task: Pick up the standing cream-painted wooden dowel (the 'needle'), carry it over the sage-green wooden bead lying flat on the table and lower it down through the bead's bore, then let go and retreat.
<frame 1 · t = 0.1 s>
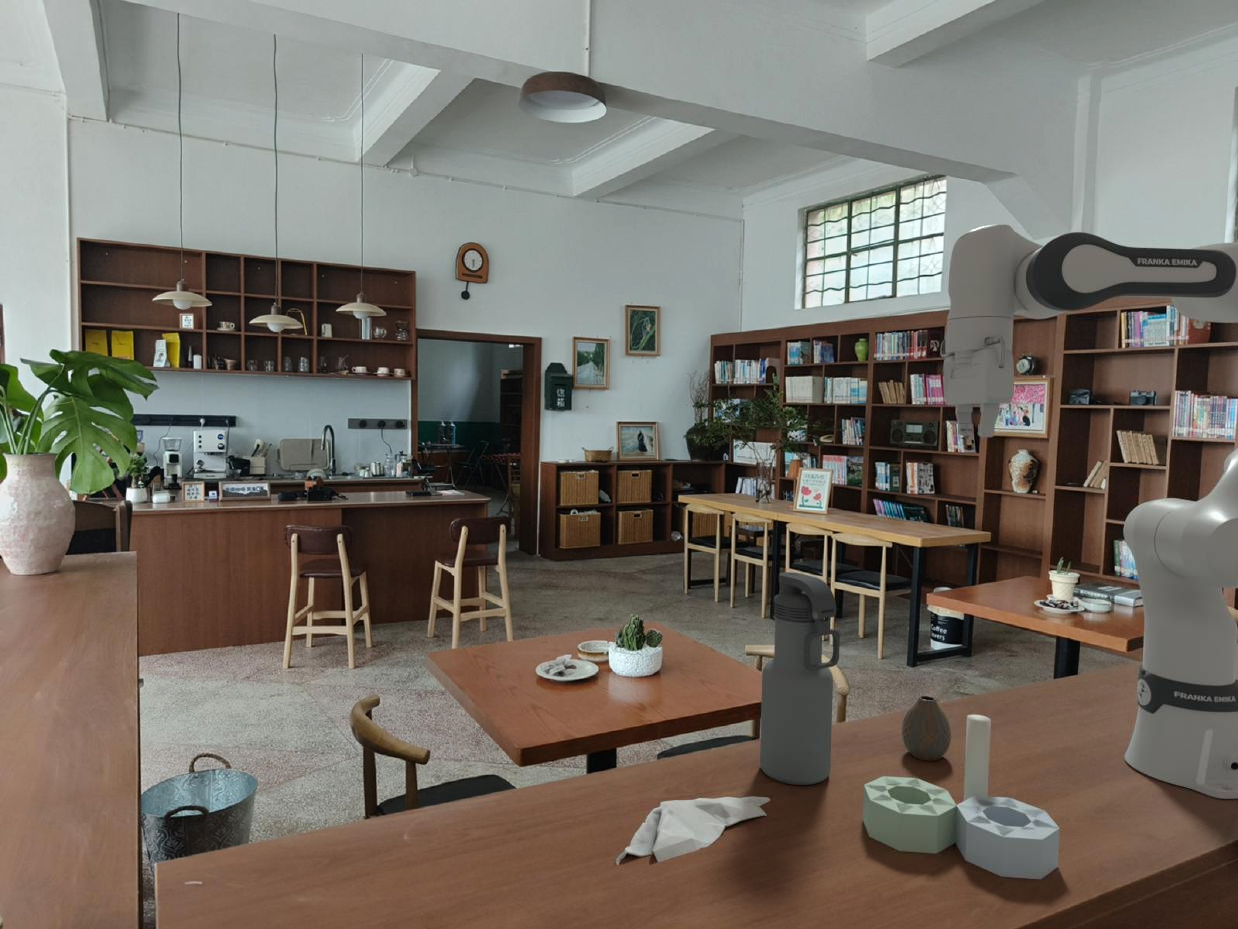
hand: (975, 436, 120), 48 cm above the table, tool pointing down, fingers open, 8 cm apart
cloth: (694, 831, 102), on the table
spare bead: (1005, 854, 96), on the table
bead: (907, 831, 101), on the table
vase: (925, 756, 124), on the table
dowel: (975, 809, 107), on the table
water bottle: (795, 774, 117), on the table
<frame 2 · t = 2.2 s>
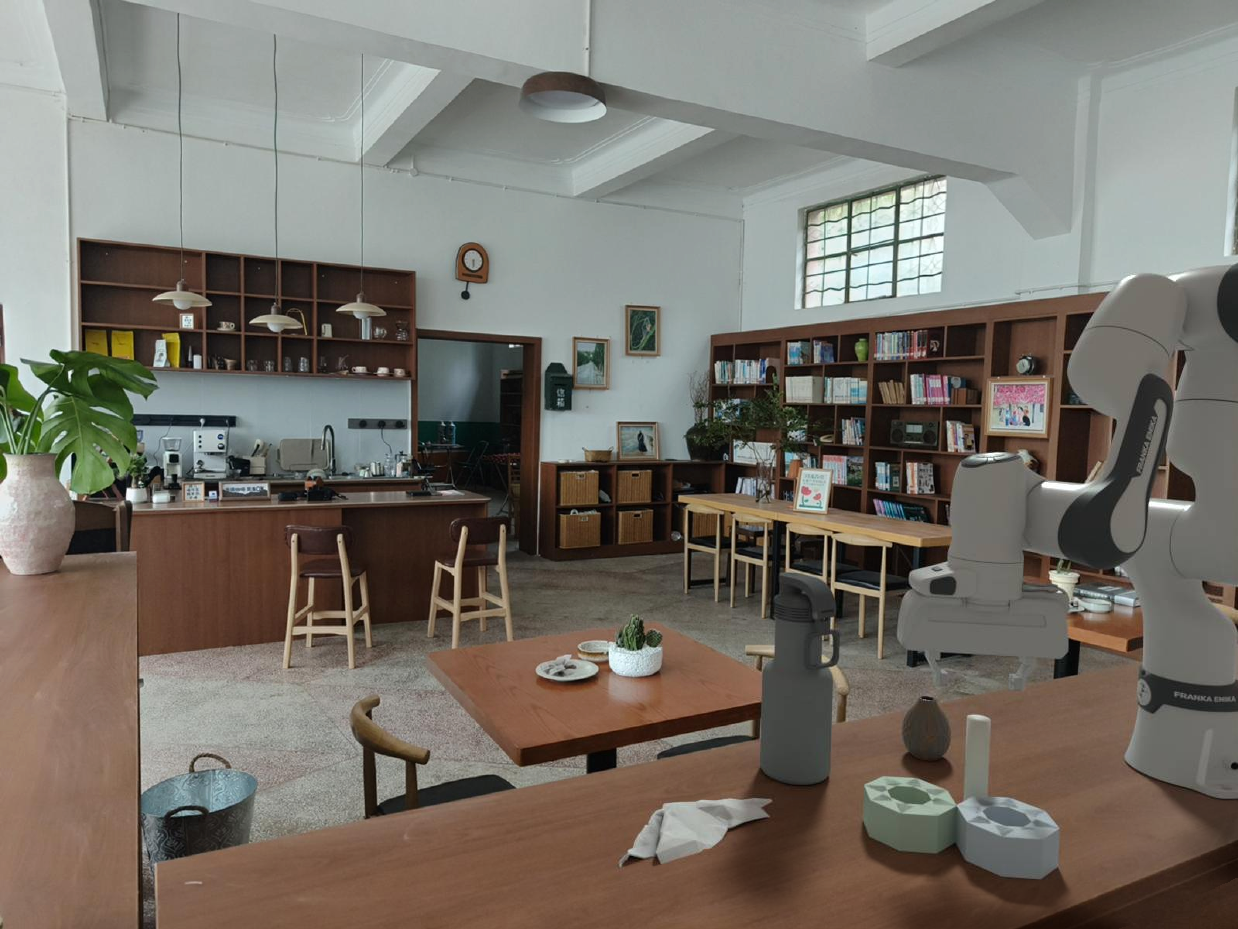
hand: (978, 687, 106), 16 cm above the table, tool pointing down, fingers open, 8 cm apart
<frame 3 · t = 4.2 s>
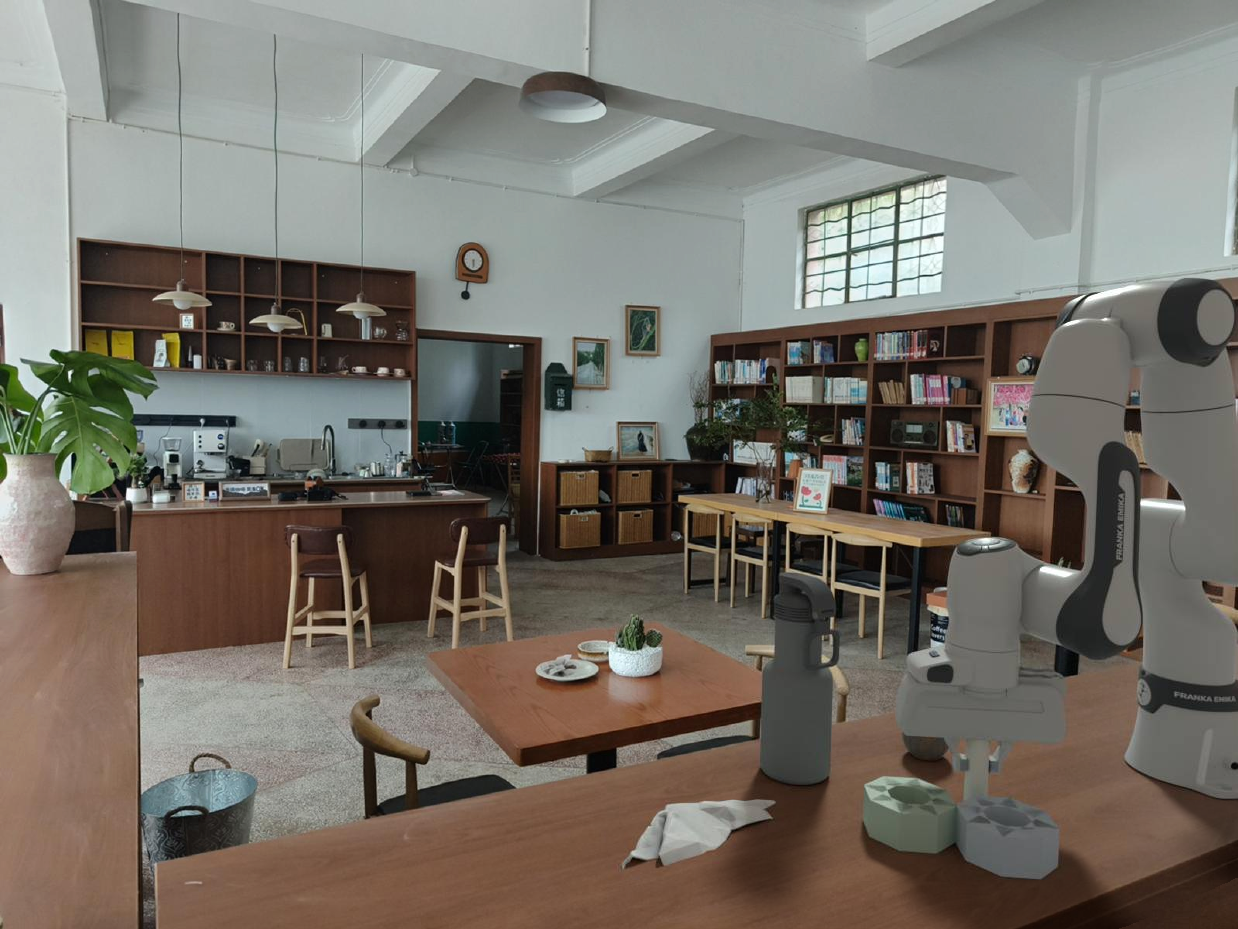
hand: (976, 771, 106), 5 cm above the table, tool pointing down, fingers closed on dowel, 3 cm apart
dowel: (975, 809, 107), on the table, touching gripper
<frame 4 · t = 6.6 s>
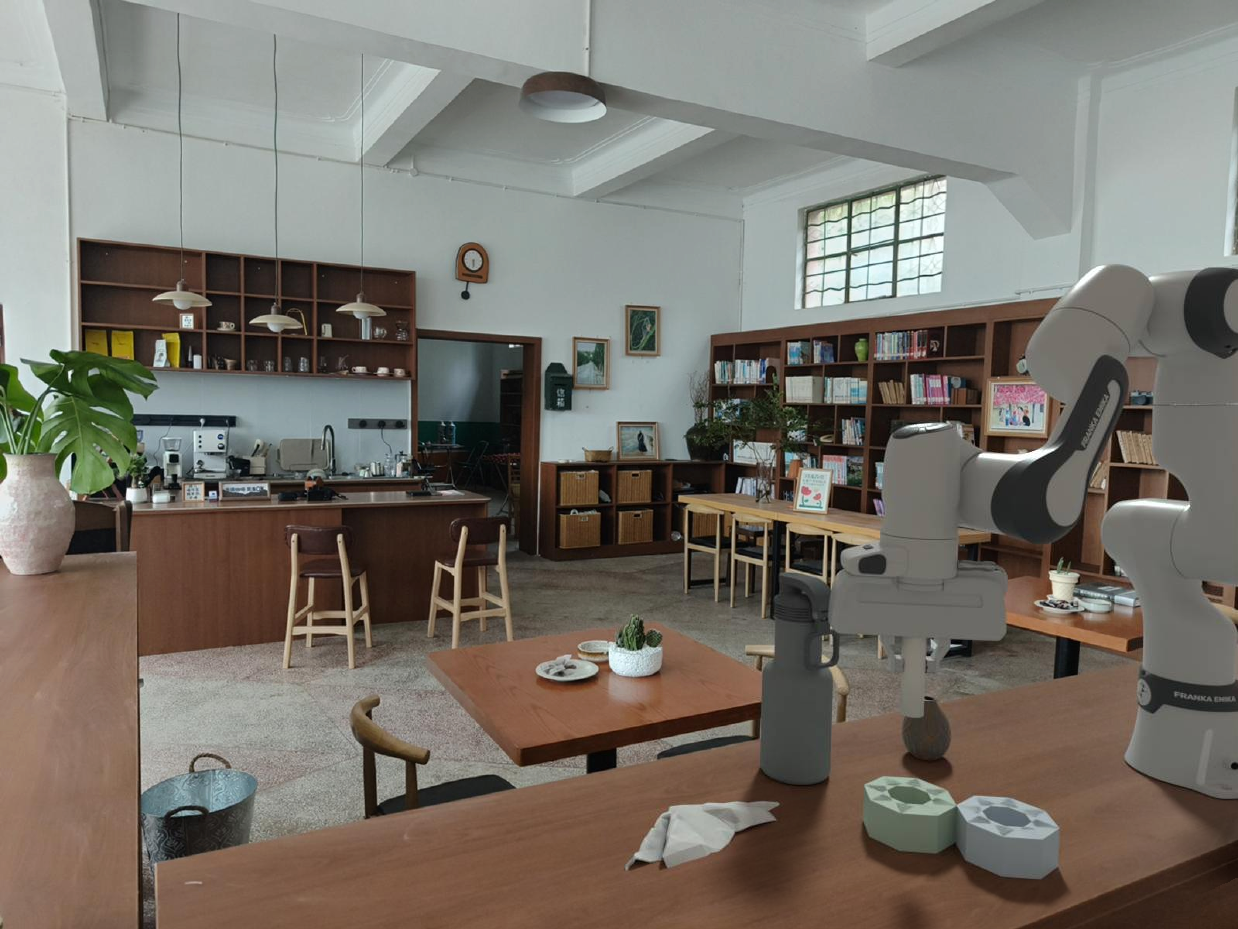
hand: (912, 672, 100), 20 cm above the table, tool pointing down, fingers closed on dowel, 3 cm apart
dowel: (911, 713, 100), point 15 cm above the table, touching gripper
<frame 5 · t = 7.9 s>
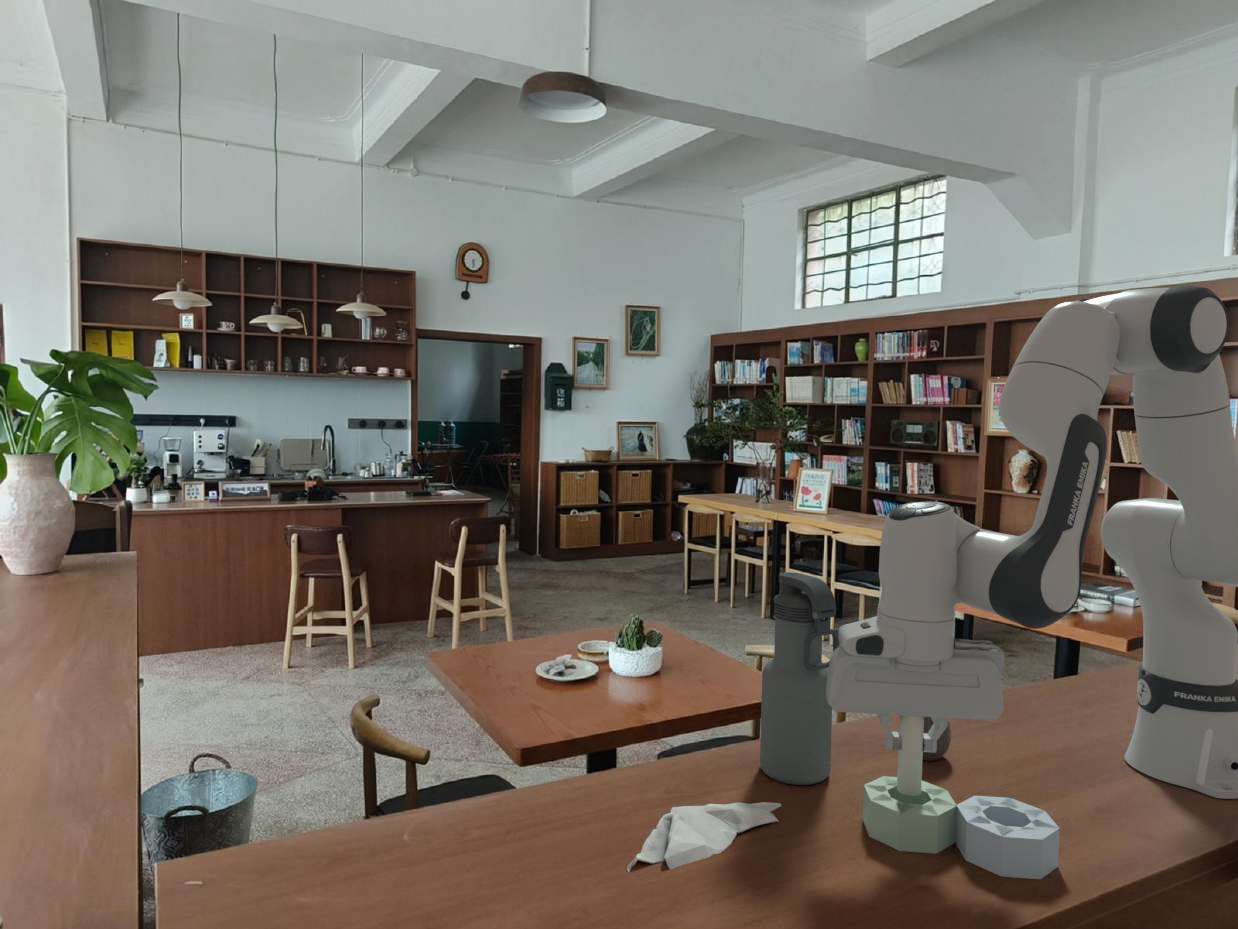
hand: (910, 749, 100), 10 cm above the table, tool pointing down, fingers closed on dowel, 3 cm apart
dowel: (908, 790, 101), point 5 cm above the table, touching gripper
when the fingers open (6 cm above the table, at t = 8.9 s): dowel drops 1 cm, resting in bead.
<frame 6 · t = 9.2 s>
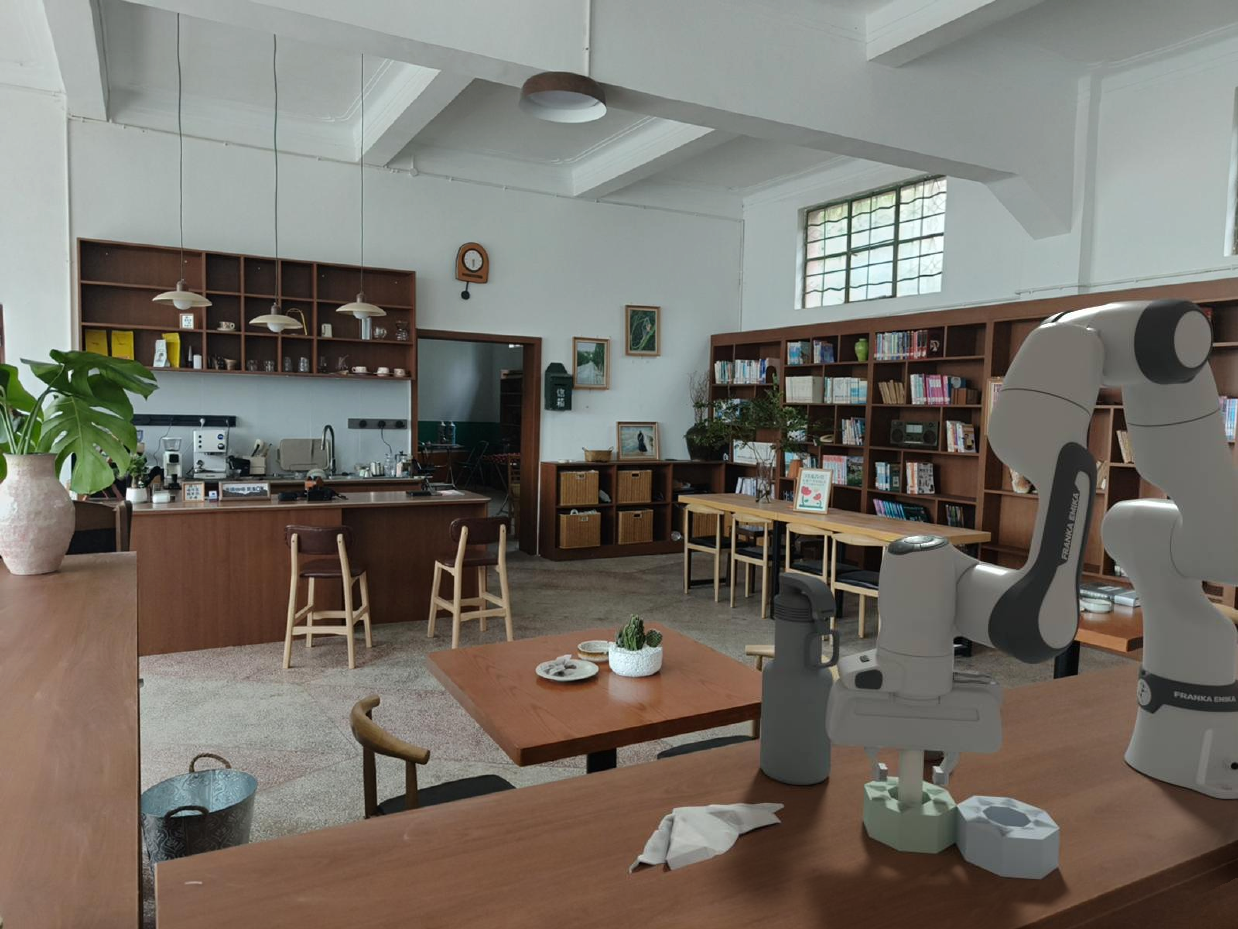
hand: (909, 782, 101), 6 cm above the table, tool pointing down, fingers open, 6 cm apart
dowel: (908, 831, 101), resting in bead
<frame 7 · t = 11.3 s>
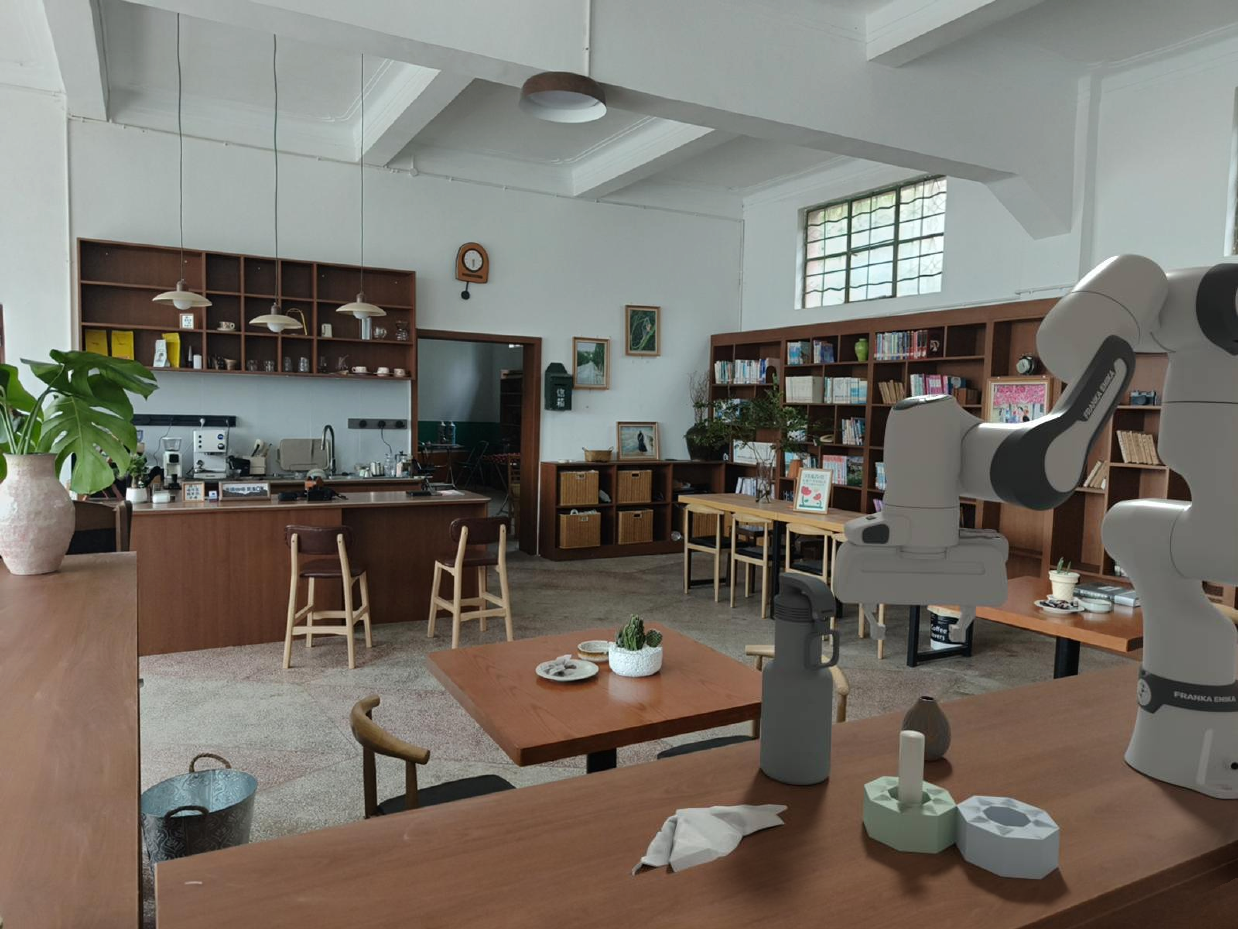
hand: (917, 639, 101), 23 cm above the table, tool pointing down, fingers open, 8 cm apart
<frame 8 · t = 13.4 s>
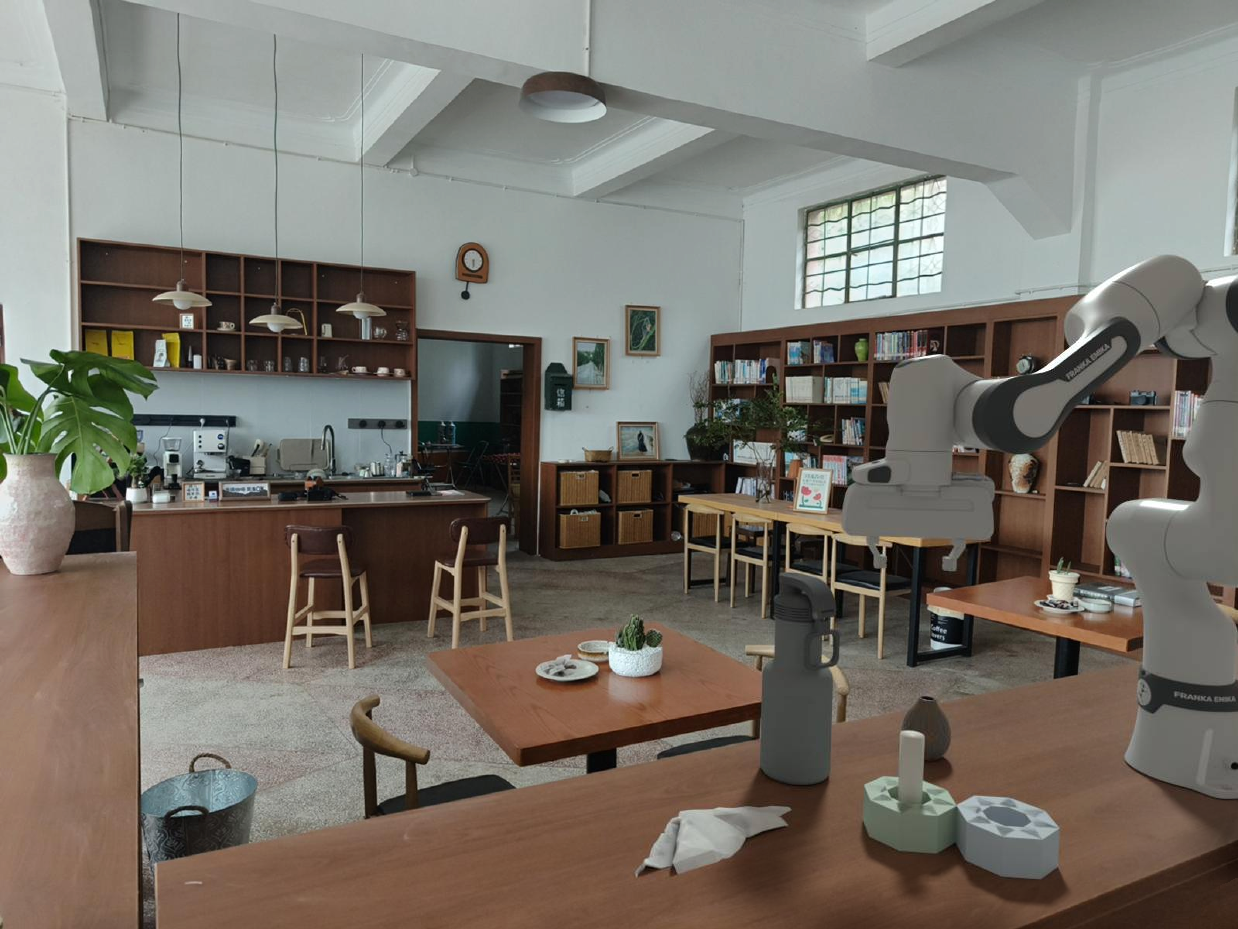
hand: (914, 569, 117), 29 cm above the table, tool pointing down, fingers open, 8 cm apart
at the end: dowel 0.1 cm off-centre on the bead, point 0.0 cm above the bead's base; dowel tilted 0°; the gripper is holding nothing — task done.
